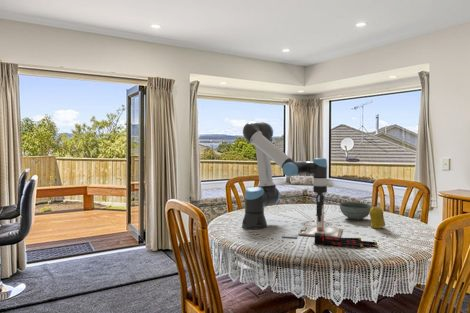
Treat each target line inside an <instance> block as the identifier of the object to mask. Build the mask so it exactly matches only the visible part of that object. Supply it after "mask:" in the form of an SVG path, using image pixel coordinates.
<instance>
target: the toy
mask: <svg viewBox="0 0 470 313" xmlns="http://www.w3.org/2000/svg"><path fill="white" fill-rule="evenodd" d="M313 243H314V245H315V246H325V245H334V246H338V247H339V246H340V247H348V248H359V249H360V248H361V249H363V248H369V247H375V248H374V249H378V248H379V246H378V242H376V241H368V240H362V238H361V237H340V238H339V237H329V236H325V234H323V233H315V237H314V242H313Z"/></svg>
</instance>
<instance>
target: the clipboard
mask: <svg viewBox="0 0 470 313" xmlns="http://www.w3.org/2000/svg"><path fill="white" fill-rule="evenodd" d="M315 233H323V234H325V236H329V237H339V238H342V237H341V236H342V233H343V228H336V227H325V226H324V230H323V231H319V230H317V226H315V225H314V226H311V225H304V226H303V225H302V227H301V228H300V231H299V232H298V234H297V236H303V237H309V238H310V237H311V238H315Z"/></svg>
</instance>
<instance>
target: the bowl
mask: <svg viewBox="0 0 470 313" xmlns="http://www.w3.org/2000/svg"><path fill="white" fill-rule="evenodd" d="M338 206H339V209H340V211H341V214H343V215H344V216H345V217H346V218H347V219H348V220H350V221H357V222H359V221H362V220H363V219H364V218H366V217H369V216H370V215H369V213H370V209H371V208H372V207H373V205H371V204H370V203H366V202H361V201H342V202H339V203H338Z"/></svg>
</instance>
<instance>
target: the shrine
mask: <svg viewBox="0 0 470 313" xmlns="http://www.w3.org/2000/svg"><path fill="white" fill-rule="evenodd" d="M368 216H370V217H369V218H370V227H371V229H377V230H378V229H381V228H382V229H383V228H384V227H385V226H386V221H385V217H384V210H383V209H382V208H381V207H380V206H378V205H377V204H374V205H372V208H371V209H370V213H369V215H368Z"/></svg>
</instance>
